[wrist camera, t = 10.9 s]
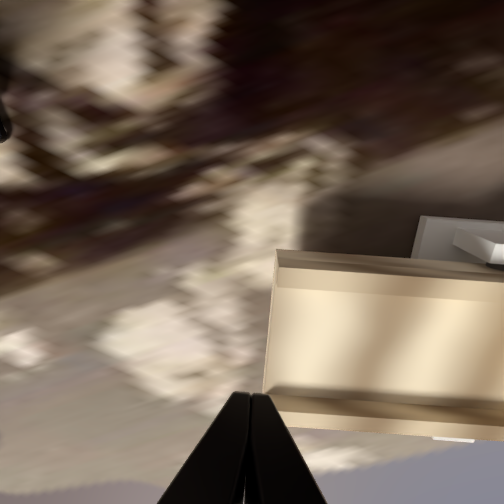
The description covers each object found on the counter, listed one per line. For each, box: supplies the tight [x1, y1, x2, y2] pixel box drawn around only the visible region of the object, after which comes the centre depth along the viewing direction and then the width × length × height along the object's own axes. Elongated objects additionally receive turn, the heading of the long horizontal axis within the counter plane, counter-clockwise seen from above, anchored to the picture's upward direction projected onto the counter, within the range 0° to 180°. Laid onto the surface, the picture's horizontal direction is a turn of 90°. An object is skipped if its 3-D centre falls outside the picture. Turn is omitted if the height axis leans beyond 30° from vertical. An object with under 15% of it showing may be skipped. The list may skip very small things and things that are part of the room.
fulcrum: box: [411, 216, 504, 443], centre depth 19 cm, size 6×13×4 cm, turn 176°
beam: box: [263, 249, 504, 441], centre depth 17 cm, size 23×10×3 cm, turn 86°
